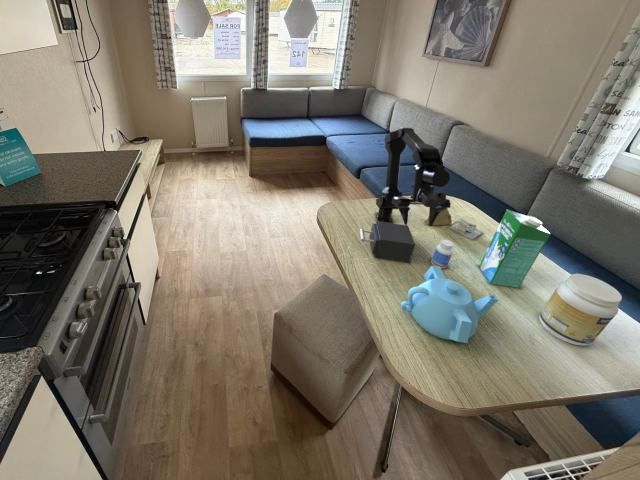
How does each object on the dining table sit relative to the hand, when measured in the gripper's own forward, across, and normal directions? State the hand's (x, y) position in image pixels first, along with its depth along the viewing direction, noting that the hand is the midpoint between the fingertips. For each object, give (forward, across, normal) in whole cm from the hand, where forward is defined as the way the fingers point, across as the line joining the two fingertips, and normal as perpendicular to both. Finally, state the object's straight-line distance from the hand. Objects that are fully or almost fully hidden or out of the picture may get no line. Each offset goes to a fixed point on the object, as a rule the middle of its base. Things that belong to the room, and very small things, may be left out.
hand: (418, 225), depth 112 cm
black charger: (+12, -6, +7) cm, 16 cm away
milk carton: (+17, +28, -6) cm, 33 cm away
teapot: (+23, -3, -24) cm, 33 cm away
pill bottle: (+15, +9, 0) cm, 18 cm away
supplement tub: (+24, +32, -26) cm, 48 cm away
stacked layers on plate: (+8, +33, +21) cm, 40 cm away
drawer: (+11, -10, +8) cm, 17 cm away
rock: (+6, +24, +26) cm, 36 cm away
